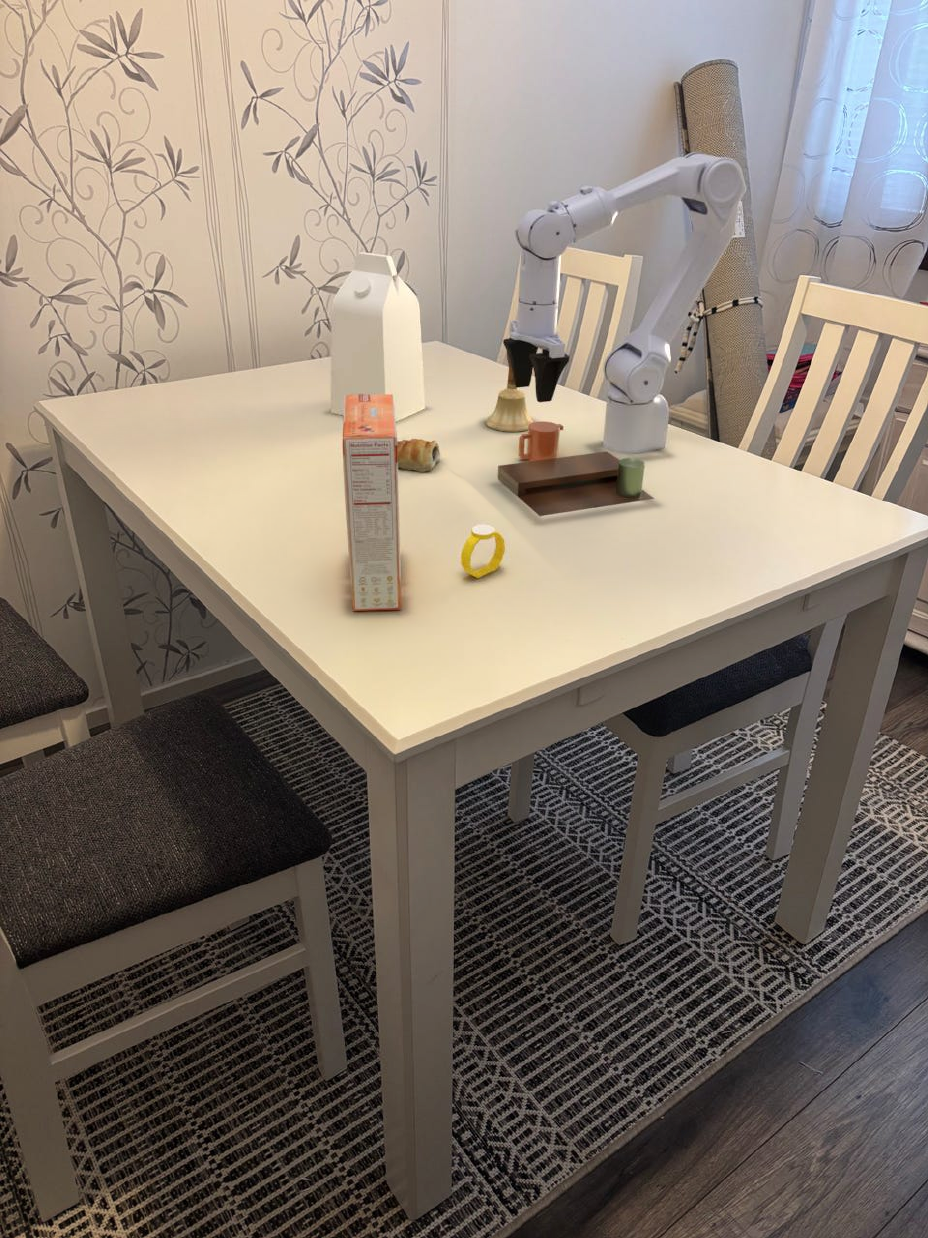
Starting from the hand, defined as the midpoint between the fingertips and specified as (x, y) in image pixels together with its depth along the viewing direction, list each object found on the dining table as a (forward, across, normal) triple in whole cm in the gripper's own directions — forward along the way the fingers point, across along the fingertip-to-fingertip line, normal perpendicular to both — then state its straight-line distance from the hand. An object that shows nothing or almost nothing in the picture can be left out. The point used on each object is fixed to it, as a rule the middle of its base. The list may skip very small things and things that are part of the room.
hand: (532, 393), depth 146 cm
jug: (+10, +2, +1) cm, 11 cm away
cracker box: (+11, +31, -35) cm, 48 cm away
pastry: (+11, -4, -18) cm, 21 cm away
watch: (+11, +33, -22) cm, 41 cm away
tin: (+9, +19, +6) cm, 22 cm away
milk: (+11, -30, -15) cm, 35 cm away
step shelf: (+10, +15, 0) cm, 18 cm away
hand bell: (+11, -16, +4) cm, 20 cm away
